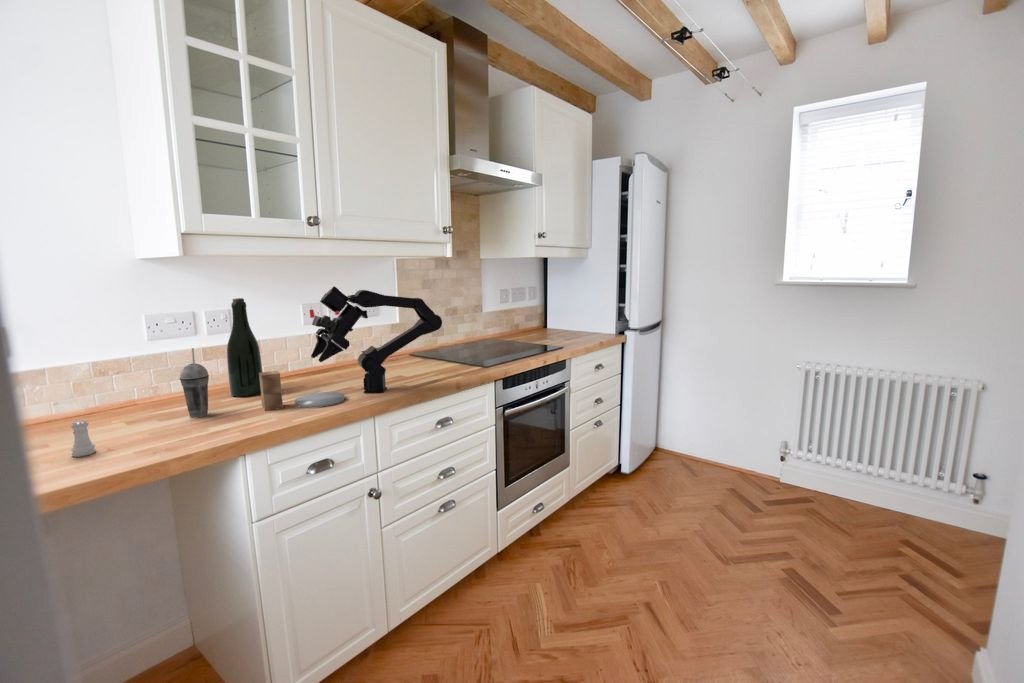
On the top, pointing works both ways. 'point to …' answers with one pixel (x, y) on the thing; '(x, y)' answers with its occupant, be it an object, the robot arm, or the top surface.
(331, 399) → the slate dish
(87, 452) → the rook chess piece
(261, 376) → the walnut block
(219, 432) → the top surface
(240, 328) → the beer bottle
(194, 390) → the beverage cup
